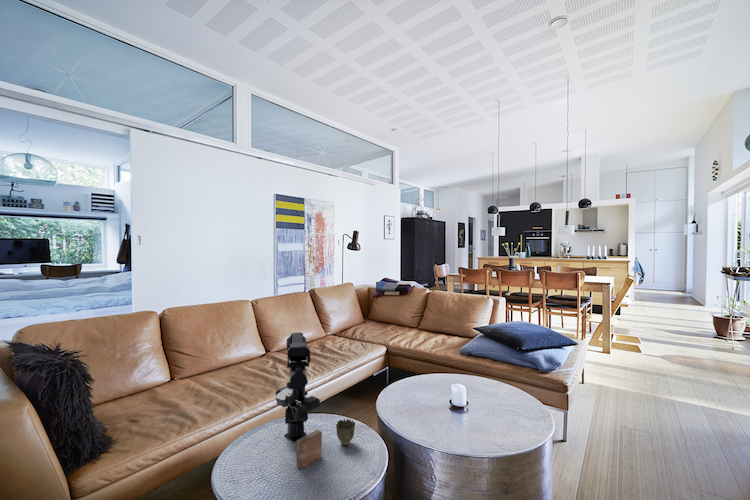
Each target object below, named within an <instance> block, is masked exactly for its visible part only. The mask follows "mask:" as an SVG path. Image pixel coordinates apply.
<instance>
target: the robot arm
mask: <svg viewBox="0 0 750 500" xmlns="http://www.w3.org/2000/svg"><path fill="white" fill-rule="evenodd" d="M286 352H287V365H286V366H287V367H286V368H289V381H287V382H286V386H285V387H282V388H279V389H277V390H276V392H275V401H276V404H277V406H281V407H282V408H285V414H284V415H285V416H284V417H285V418H284V421H285V422H284V423H285V425H287V433H285V434H284V435H283V436H284V437H285V438H287V439H289V440H291V441H292V442H297V441H298V440H299V439H301V438H303V437H305V436H306V435H308V434H307V432H305V424H304V423H306V422H307V420H308V419H309V412H311V411H313V410H314V409H317V408H319V407H321V399H319V398H318V397H316V396H313V395H311V396H309V397H308V393H309V392H308V391H306V385H308V383H309V381H308V377H307V376H308V375H307V372H306V371H307V370H306V369H307V368H306V367H310V363H311V350H310V348H309V346H307V337H305V336H304V334H303V332H300V331H299V332H298V331H297V332H292V333H290V336H289V337H288V338H287V339H286Z"/></svg>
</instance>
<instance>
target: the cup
mask: <svg viewBox="0 0 750 500" xmlns="http://www.w3.org/2000/svg"><path fill="white" fill-rule="evenodd" d="M335 425H336V435H337V439H338V440H339V441H340V445H341V446H344V447H347V446H349V445H350V444H351V441H352V440H353V439H354V435H355V429H356V422H355V421H354V420H351V418H350V419H348V418H346V419H345V418H344V419H340V420H338V421H337V424H335Z"/></svg>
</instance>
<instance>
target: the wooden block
mask: <svg viewBox="0 0 750 500" xmlns="http://www.w3.org/2000/svg"><path fill="white" fill-rule="evenodd" d="M322 432H323V431H322V430H319V429H316V430H313V431H312V432H310V433H308V434H306V435H305V436H303V437H302V438H300V439H298V440H296V465H295V466H296V468H297V469H299V470H300V471H302V470H303V469H305V468H306V467H307V466H309V465H310V464H312V463H314V462H315V461H317V460H318V459H319V458H321V457H322V449H323V448H322V447H323V446H322V443H323V442H322V440H323V437H322V436H323V435H322V434H323V433H322Z"/></svg>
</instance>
